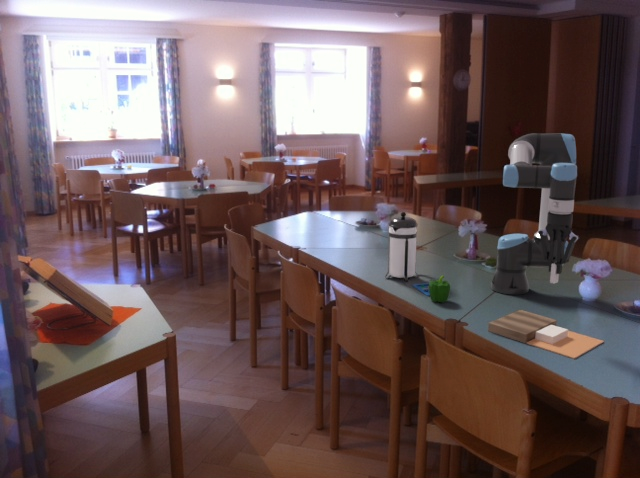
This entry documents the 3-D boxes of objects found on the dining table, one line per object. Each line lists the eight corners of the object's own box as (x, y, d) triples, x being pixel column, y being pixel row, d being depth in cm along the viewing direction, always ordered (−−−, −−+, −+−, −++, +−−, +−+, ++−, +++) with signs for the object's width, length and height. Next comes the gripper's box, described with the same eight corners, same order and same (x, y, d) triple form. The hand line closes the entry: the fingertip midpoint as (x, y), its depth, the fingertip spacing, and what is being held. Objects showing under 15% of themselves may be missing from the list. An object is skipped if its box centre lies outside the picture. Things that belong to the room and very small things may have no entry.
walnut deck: (519, 317, 217) (520, 309, 217) (556, 328, 207) (556, 320, 206) (488, 331, 205) (488, 322, 204) (525, 343, 194) (525, 334, 194)
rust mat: (557, 328, 207) (557, 327, 206) (603, 342, 195) (603, 341, 195) (526, 343, 194) (526, 342, 194) (574, 359, 182) (574, 357, 182)
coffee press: (424, 282, 260) (426, 214, 254) (388, 283, 259) (389, 215, 252) (415, 271, 277) (417, 207, 270) (381, 272, 276) (382, 208, 269)
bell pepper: (438, 305, 230) (439, 281, 228) (424, 300, 237) (425, 275, 235) (454, 302, 234) (455, 277, 232) (440, 296, 241) (441, 272, 239)
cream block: (550, 331, 203) (551, 324, 202) (567, 336, 198) (568, 329, 198) (535, 338, 197) (535, 331, 196) (552, 344, 192) (552, 337, 192)
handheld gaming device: (427, 294, 241) (412, 283, 255) (427, 297, 242) (412, 286, 256) (446, 292, 244) (429, 282, 258) (445, 295, 244) (429, 284, 258)
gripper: (535, 210, 193) (529, 280, 198) (574, 216, 183) (567, 289, 189) (547, 207, 197) (541, 275, 203) (585, 213, 188) (578, 284, 194)
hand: (554, 282), depth 196 cm, fingers closed
